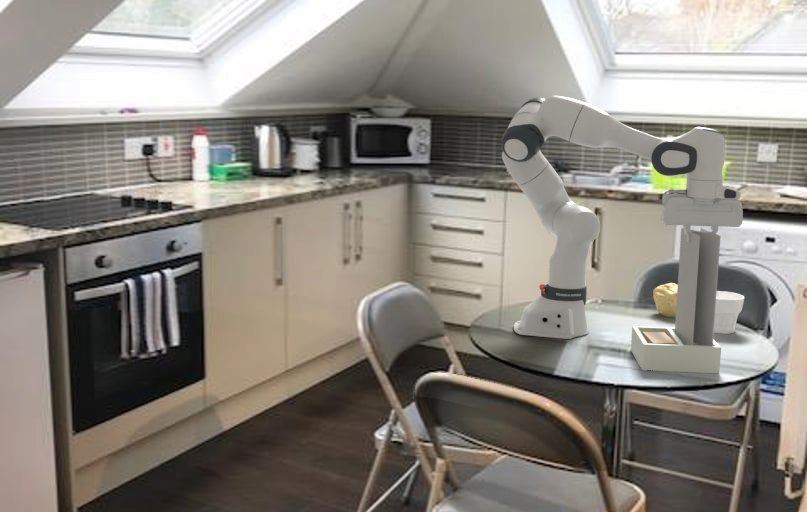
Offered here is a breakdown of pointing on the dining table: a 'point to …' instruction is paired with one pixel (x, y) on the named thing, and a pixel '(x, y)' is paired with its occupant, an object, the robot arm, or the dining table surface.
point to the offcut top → (657, 338)
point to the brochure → (697, 287)
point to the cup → (727, 311)
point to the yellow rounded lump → (666, 299)
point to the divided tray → (674, 353)
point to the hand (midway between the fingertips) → (699, 242)
